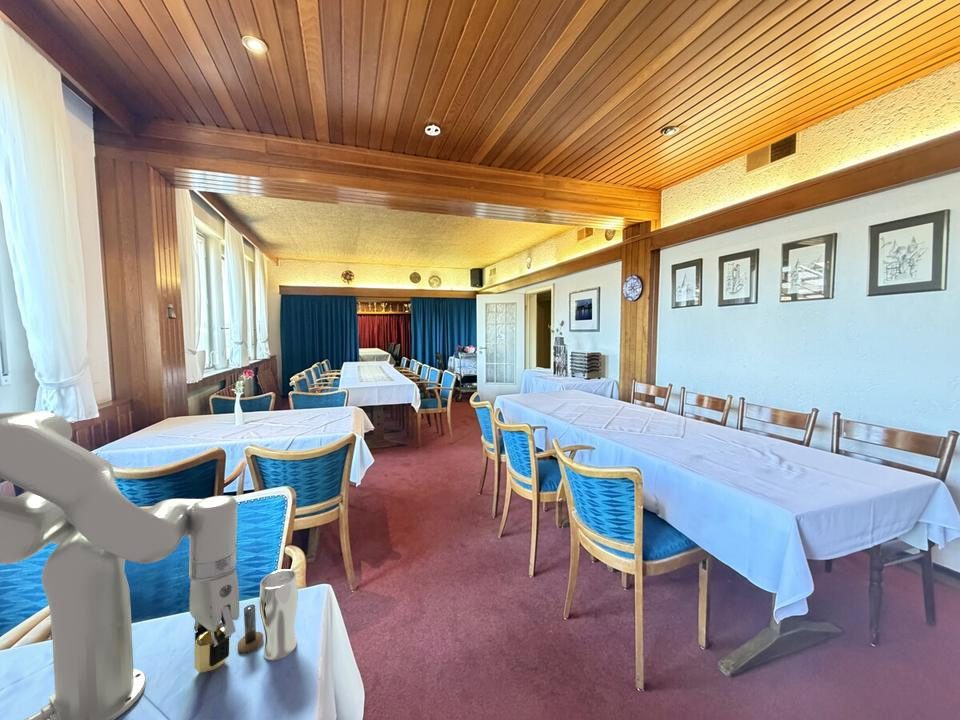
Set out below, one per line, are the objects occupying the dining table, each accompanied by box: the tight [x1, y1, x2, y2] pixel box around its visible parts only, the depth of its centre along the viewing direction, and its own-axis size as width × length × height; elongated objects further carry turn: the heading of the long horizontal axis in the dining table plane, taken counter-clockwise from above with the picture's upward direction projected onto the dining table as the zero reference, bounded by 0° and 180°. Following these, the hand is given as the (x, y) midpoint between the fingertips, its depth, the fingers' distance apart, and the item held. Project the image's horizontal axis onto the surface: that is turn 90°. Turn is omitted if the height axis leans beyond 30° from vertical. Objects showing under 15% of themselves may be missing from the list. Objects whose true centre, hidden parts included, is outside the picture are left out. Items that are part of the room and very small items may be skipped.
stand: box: [237, 604, 264, 654], centre depth 79 cm, size 5×5×8 cm
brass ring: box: [193, 627, 227, 673], centre depth 73 cm, size 5×5×5 cm
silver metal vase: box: [259, 568, 299, 662], centre depth 78 cm, size 7×7×15 cm
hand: (211, 653), depth 73 cm, fingers closed on brass ring, 5 cm apart
